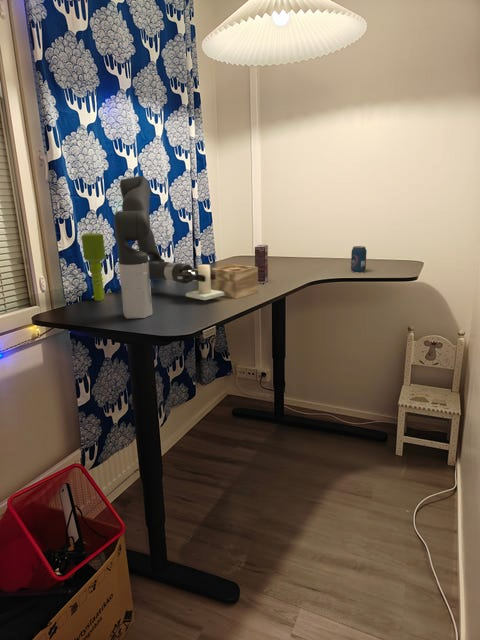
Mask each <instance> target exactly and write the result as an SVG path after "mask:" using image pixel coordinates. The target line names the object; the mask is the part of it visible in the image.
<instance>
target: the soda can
mask: <svg viewBox="0 0 480 640" xmlns="http://www.w3.org/2000/svg"><path fill="white" fill-rule="evenodd" d="M366 268H367V249H366V246H361V245H357V246H353V247H352V250H351V256H350V271H351V272H352V271H353V272H352V273H354V272H363V273H365V271H366V270H367V269H366Z"/></svg>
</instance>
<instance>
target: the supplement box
mask: <svg viewBox="0 0 480 640" xmlns="http://www.w3.org/2000/svg"><path fill="white" fill-rule="evenodd" d="M268 249H269V245H268V244H258V245H256V246H254V267H258V283H265V284H266V283H267V282H266V281H267V280H269V267H268V266H269V265H268V263H269V261H268V260H269V251H268Z"/></svg>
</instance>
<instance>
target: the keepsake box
mask: <svg viewBox="0 0 480 640" xmlns="http://www.w3.org/2000/svg"><path fill="white" fill-rule="evenodd" d="M210 271H211V273H215V279H214V280H212V279H211V290H217V291H222V292H224V295H223V296H222V297H228V298H233V299H238V298H242V297H246V296H249V295H254V294H257V293H259V284H258V267H255V266H253V265H252V266H251V265H240V264H229V265H223V266H219V267H214V268H213V267H212V268H210Z"/></svg>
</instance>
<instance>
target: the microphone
mask: <svg viewBox="0 0 480 640" xmlns="http://www.w3.org/2000/svg"><path fill="white" fill-rule="evenodd" d="M81 242H82V253H83V259H84V260H85V261H87V262H89V268H90V273H91V274H90V276H91V284H92V289H93V296H94V298H93V299H94V301H104V300H105V293H104V281H103V273H102V271H103V267H102V263H101V262H102V261H103V260H104V259H106V252H105V242H104V235H103V234H102V233H100V232H99V233H97V232H95V233H84V234H82V235H81ZM103 299H104V300H103Z"/></svg>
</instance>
